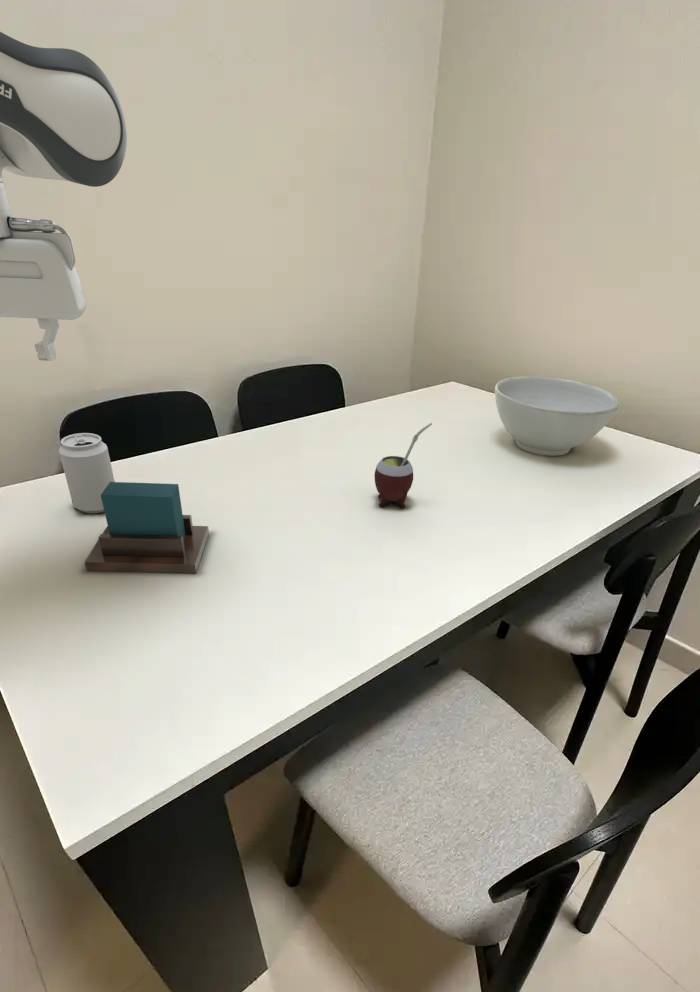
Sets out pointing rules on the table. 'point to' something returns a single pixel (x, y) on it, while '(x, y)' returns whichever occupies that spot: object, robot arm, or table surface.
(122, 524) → the back pad
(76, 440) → the can
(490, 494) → the table surface
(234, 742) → the table surface
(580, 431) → the decorative bowl
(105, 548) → the board
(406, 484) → the mate gourd
